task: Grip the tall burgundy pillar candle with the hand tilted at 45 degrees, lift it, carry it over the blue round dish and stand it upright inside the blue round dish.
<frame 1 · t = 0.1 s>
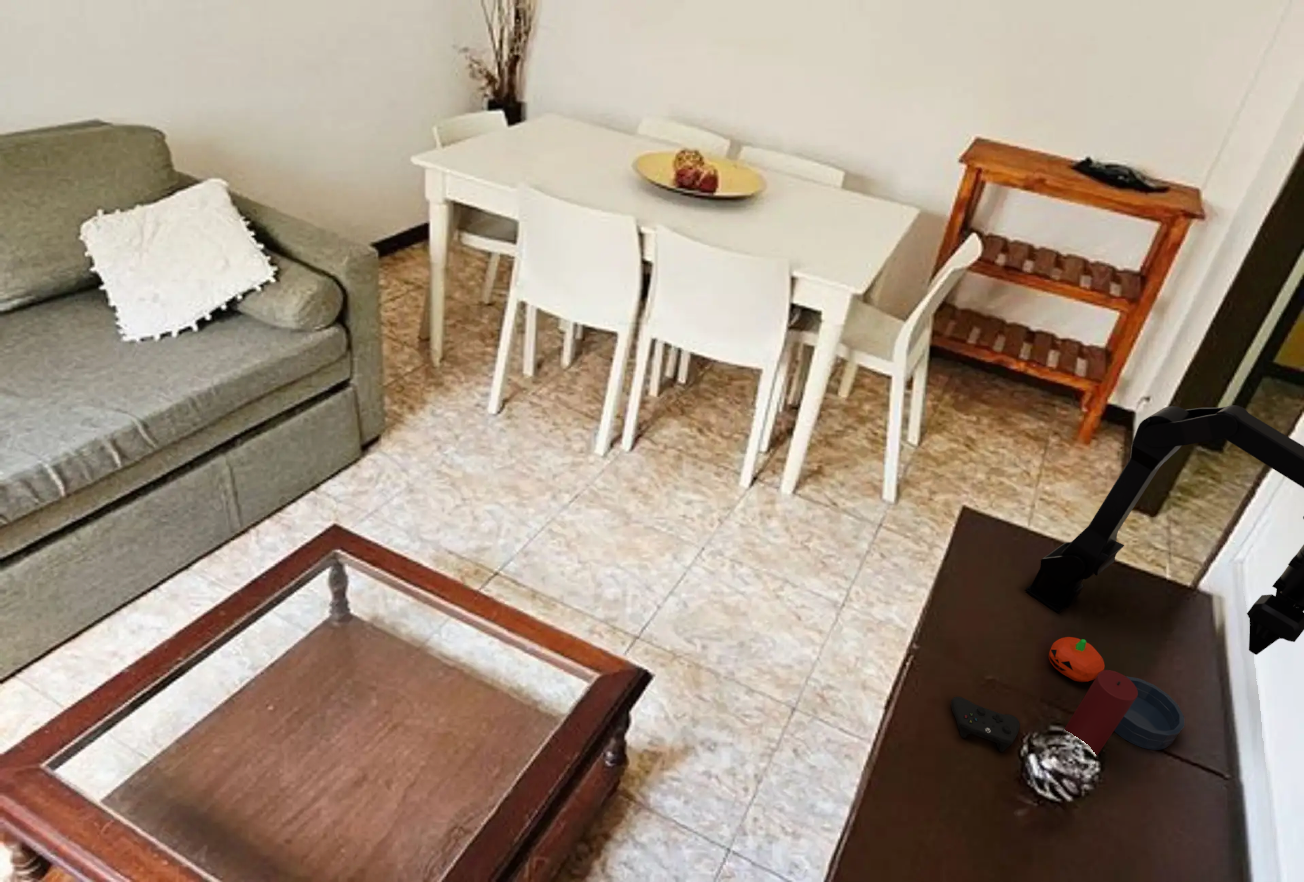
hand: (1263, 639, 128), 15 cm above the table, tool pointing down, fingers open, 9 cm apart
pumpkin: (1069, 671, 138), on the table
blue round dish: (1135, 720, 131), on the table
gaming controller: (981, 730, 125), on the table
candle: (1078, 745, 125), on the table
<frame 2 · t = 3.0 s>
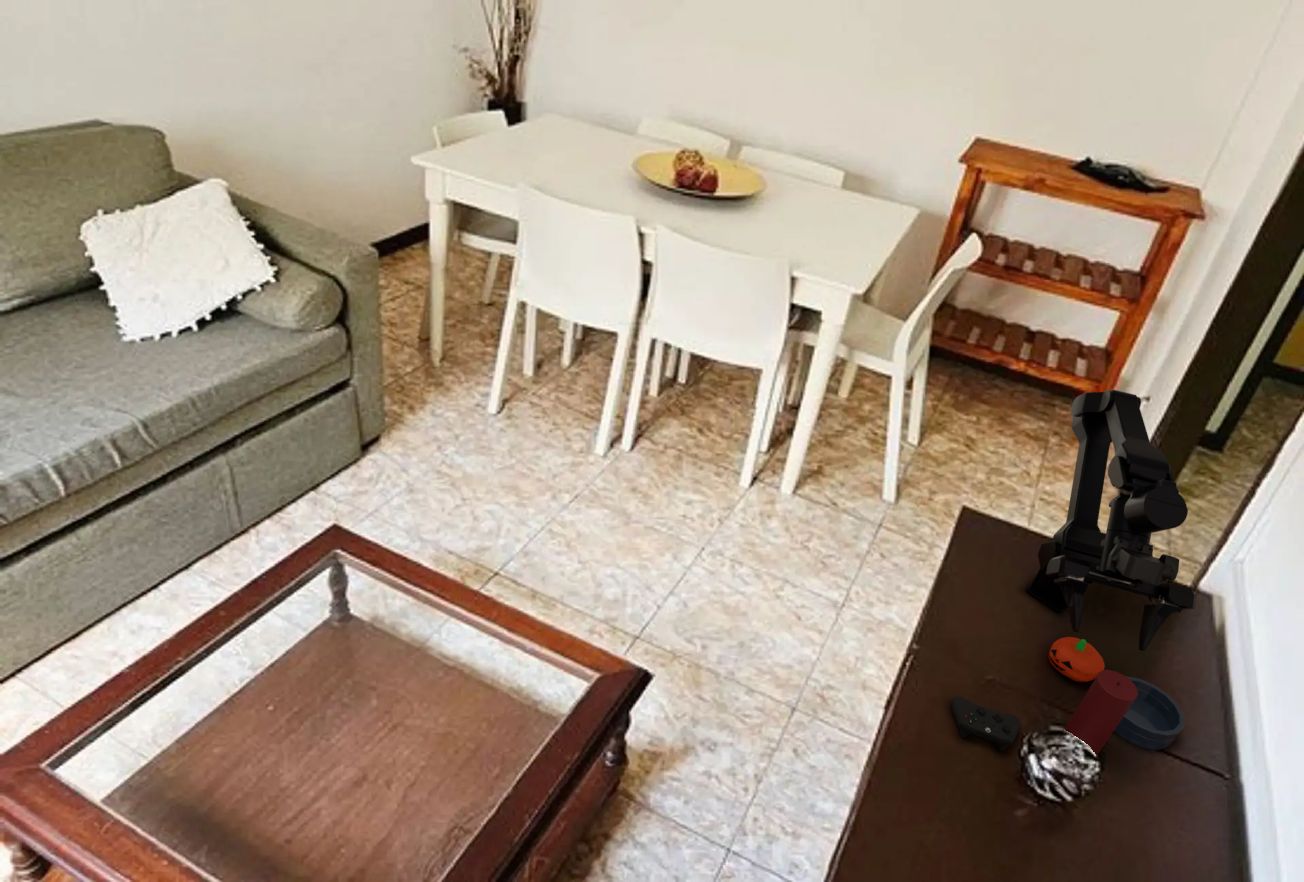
hand: (1108, 641, 125), 13 cm above the table, tool tilted 45°, fingers open, 9 cm apart
nothing on the table moved.
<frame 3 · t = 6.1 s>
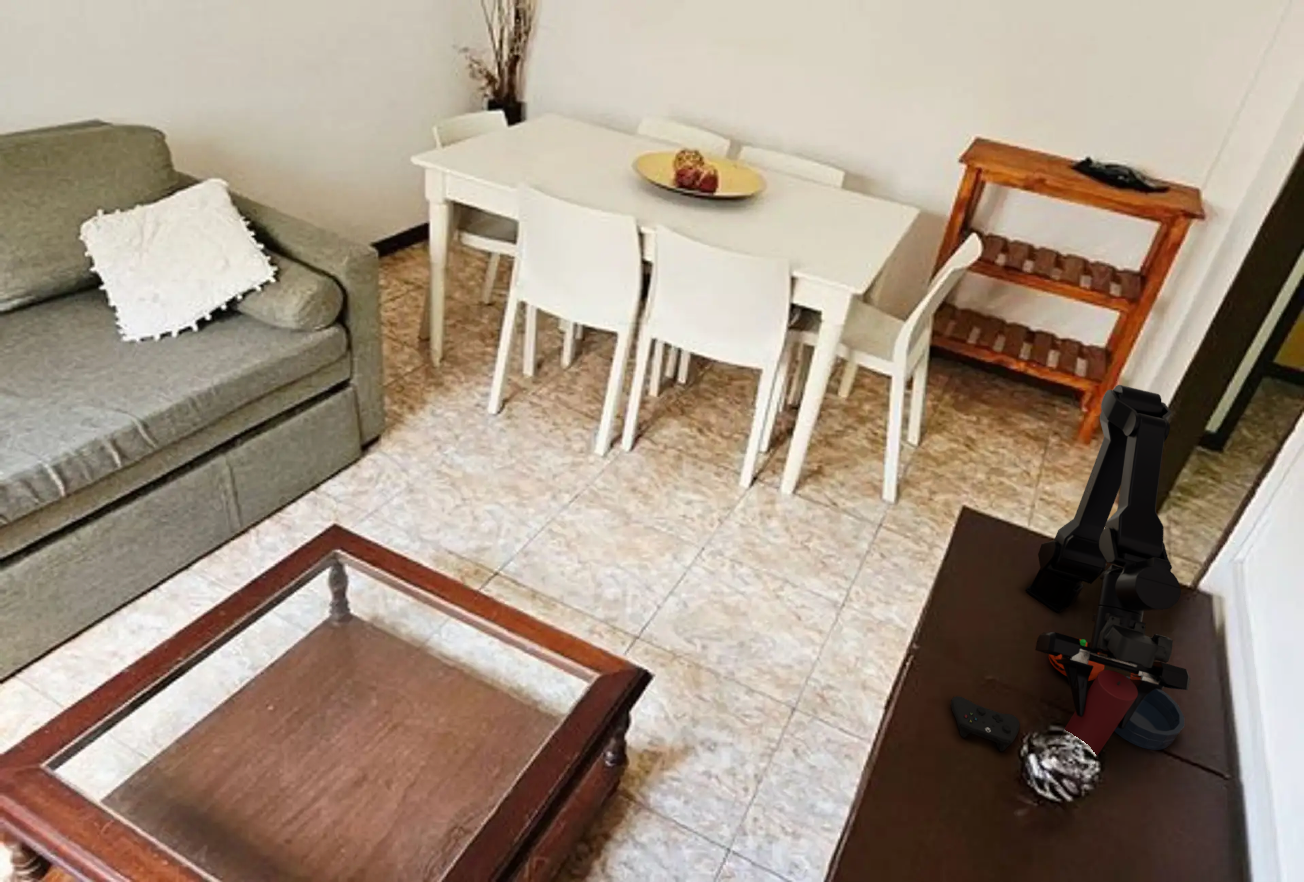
hand: (1099, 722, 120), 7 cm above the table, tool tilted 45°, fingers closed on candle, 5 cm apart
candle: (1078, 745, 125), on the table, touching gripper
everything else where it was.
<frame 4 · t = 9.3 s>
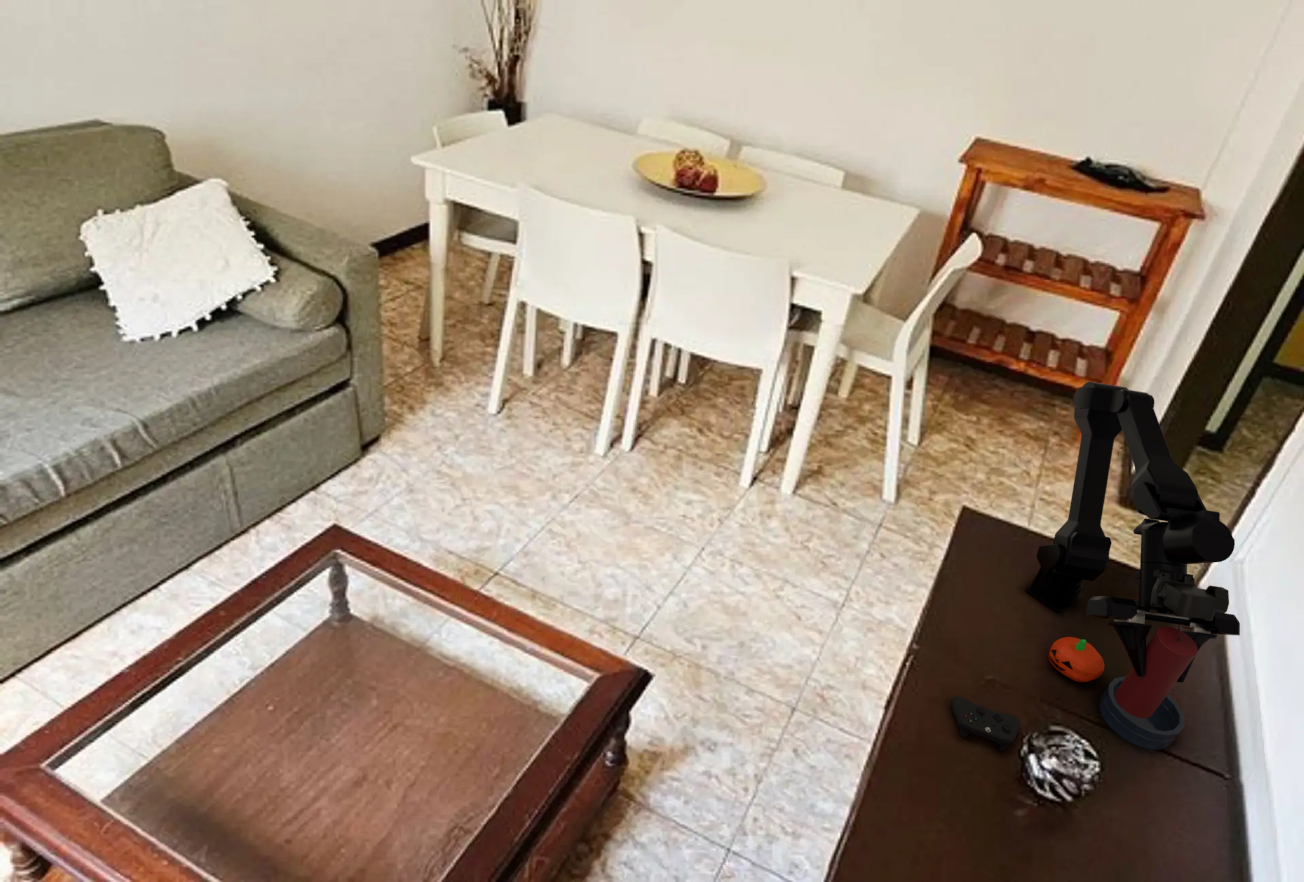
hand: (1159, 679, 119), 13 cm above the table, tool tilted 45°, fingers closed on candle, 5 cm apart
candle: (1133, 703, 124), point 7 cm above the table, touching gripper
everything else where it was.
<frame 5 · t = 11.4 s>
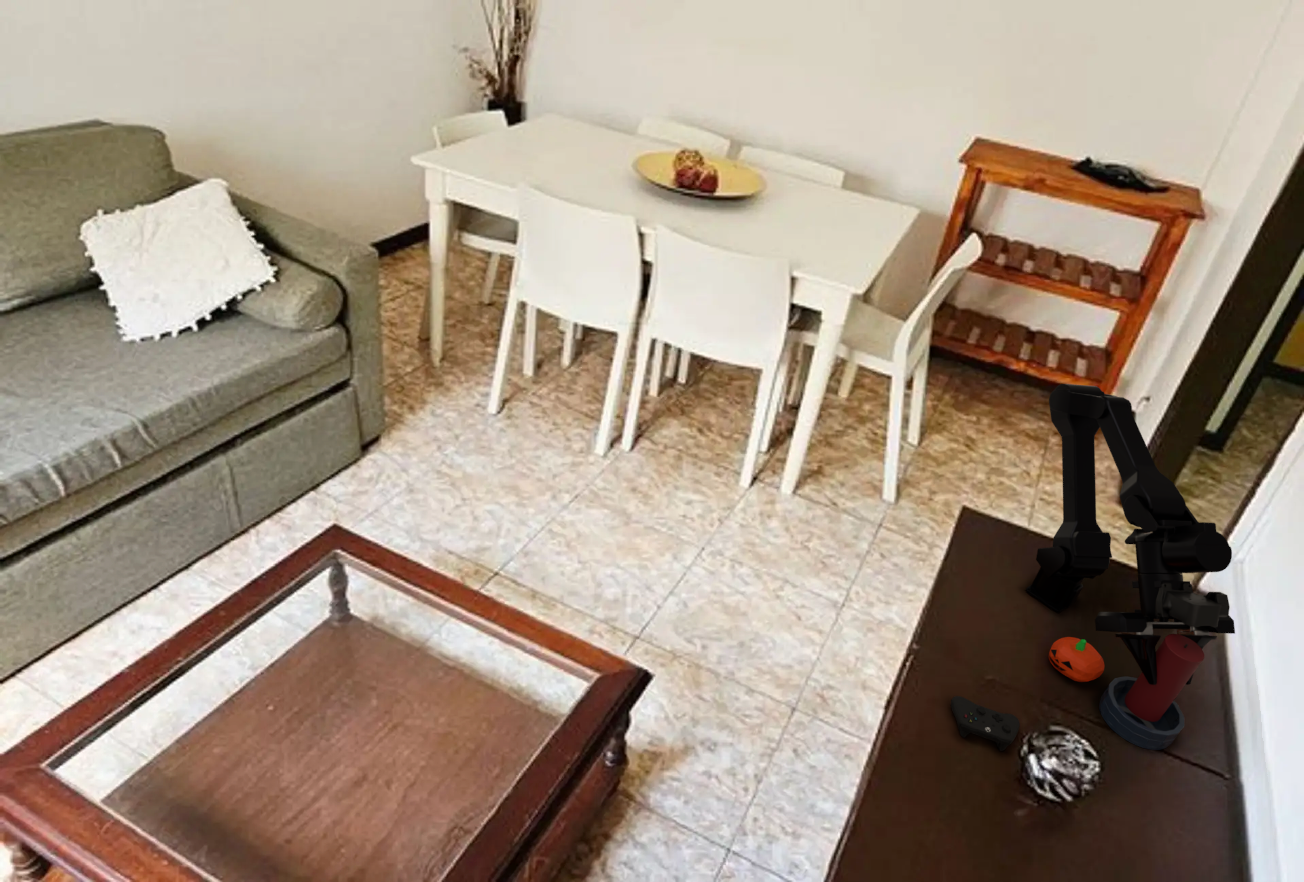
hand: (1169, 684, 125), 9 cm above the table, tool tilted 45°, fingers closed on candle, 5 cm apart
candle: (1142, 707, 130), point 3 cm above the table, touching gripper
everything else where it was.
when the fingers open (7 cm above the table, at t = 12.5 s): candle stays where it is, resting on blue round dish.
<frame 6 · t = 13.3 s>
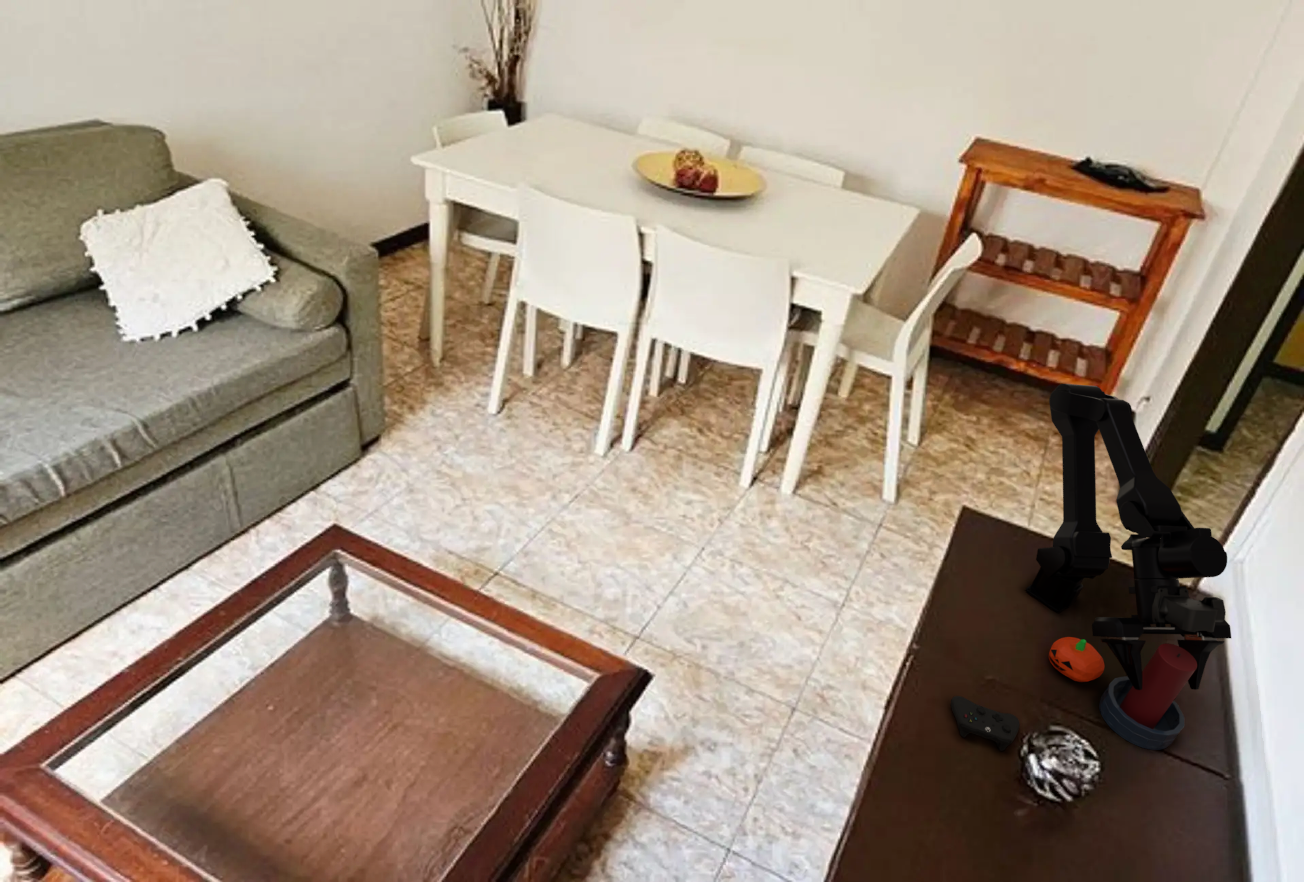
hand: (1166, 689, 125), 8 cm above the table, tool tilted 45°, fingers open, 9 cm apart
candle: (1136, 716, 131), point 1 cm above the table, touching blue round dish
everything else where it was.
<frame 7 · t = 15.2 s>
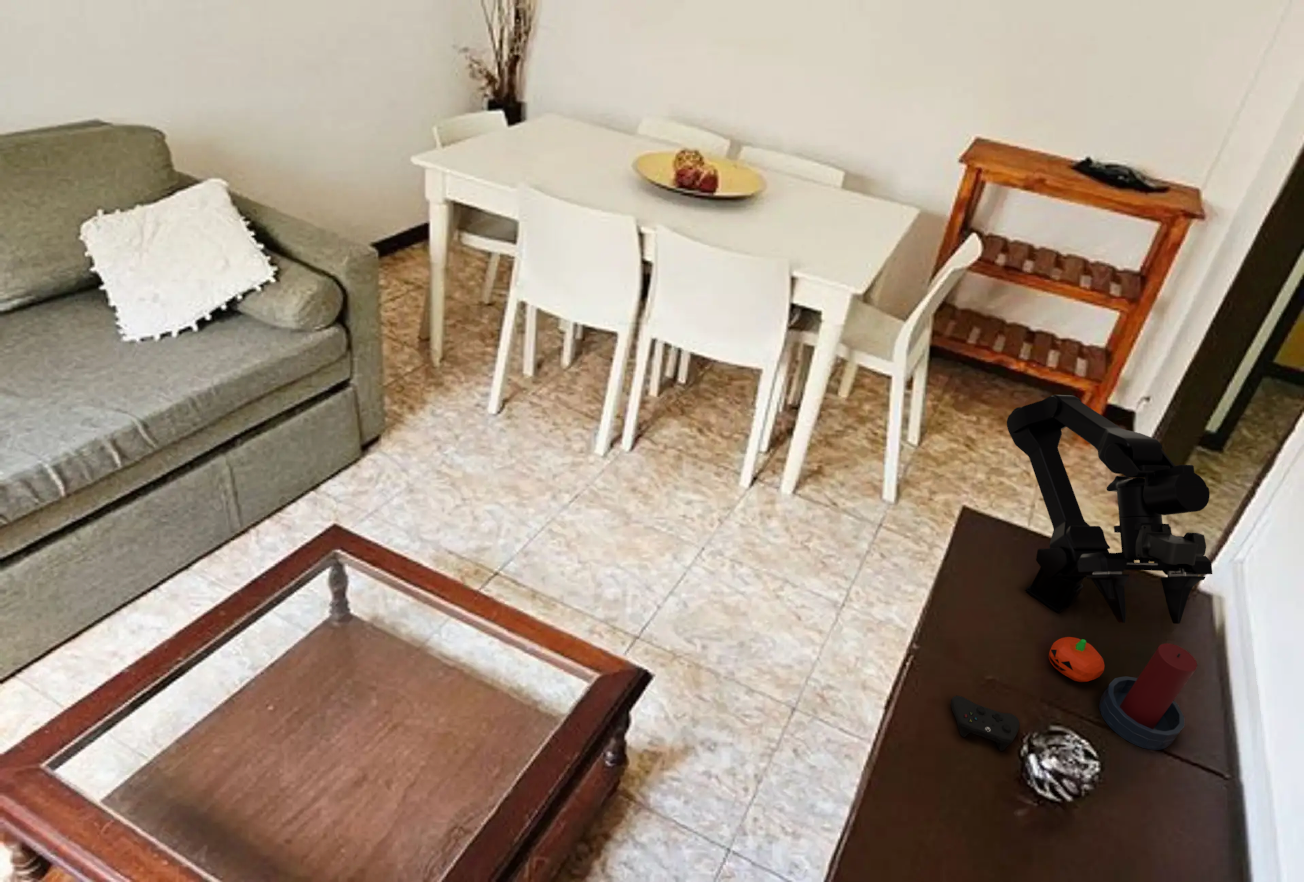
hand: (1149, 623, 130), 13 cm above the table, tool tilted 45°, fingers open, 9 cm apart
nothing on the table moved.
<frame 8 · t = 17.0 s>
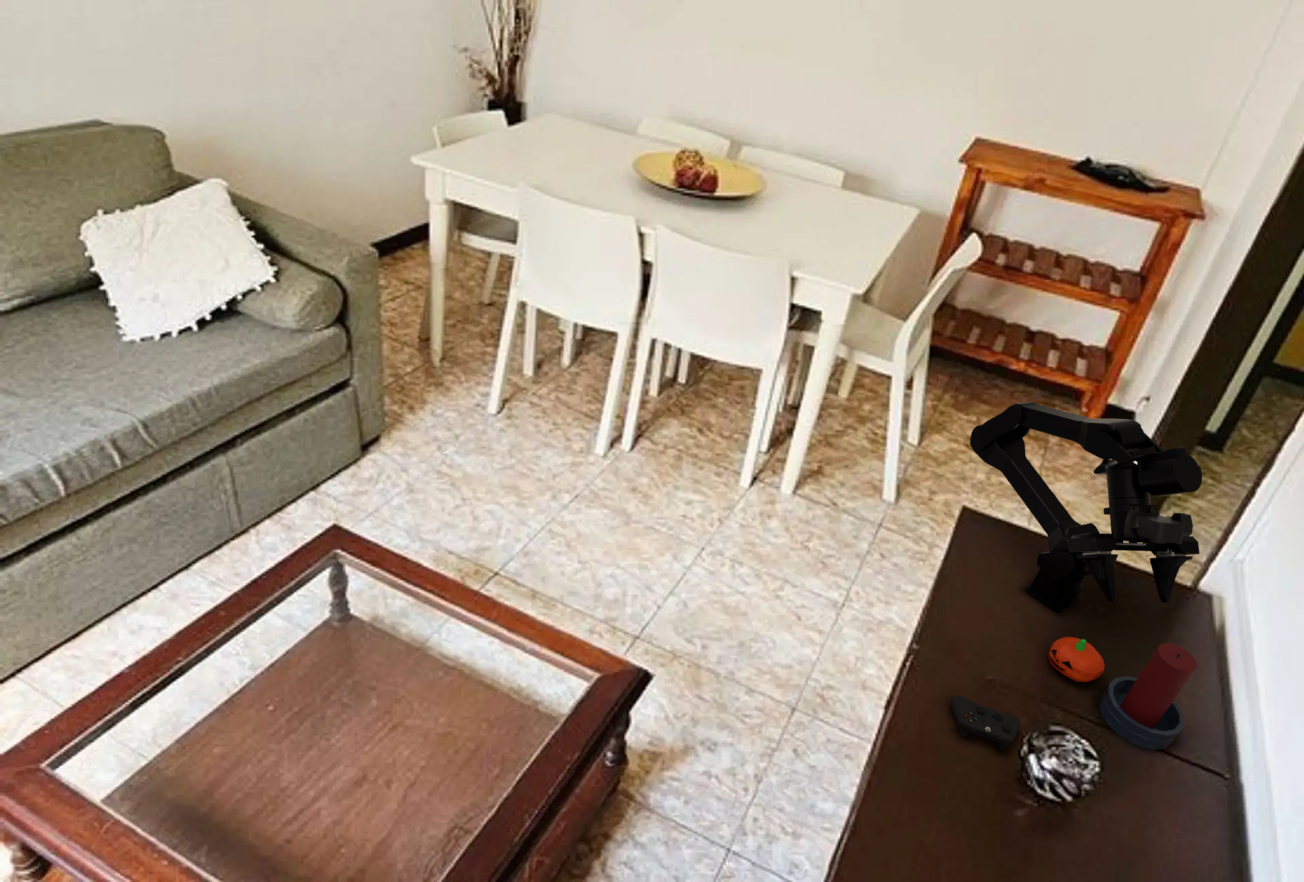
hand: (1138, 602, 133), 14 cm above the table, tool tilted 45°, fingers open, 9 cm apart
nothing on the table moved.
at the end: candle 0.1 cm off-centre in the blue round dish, point 0.6 cm above the blue round dish's base; candle tilted 0°; the gripper is holding nothing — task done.
